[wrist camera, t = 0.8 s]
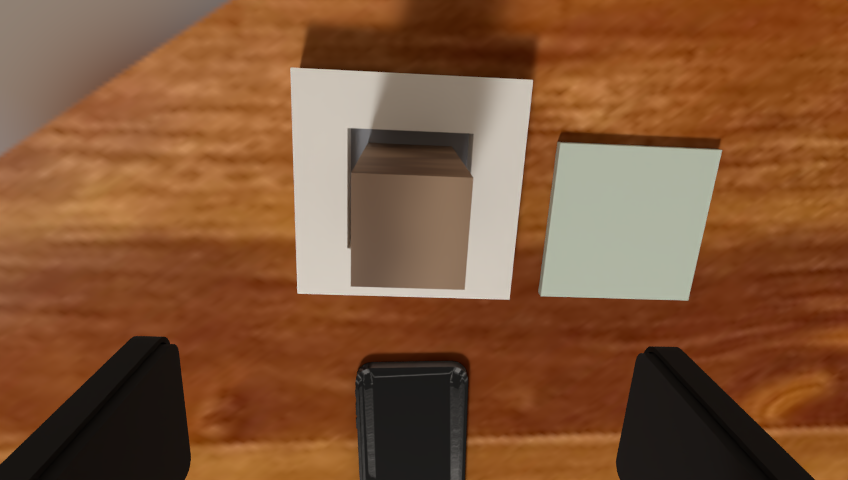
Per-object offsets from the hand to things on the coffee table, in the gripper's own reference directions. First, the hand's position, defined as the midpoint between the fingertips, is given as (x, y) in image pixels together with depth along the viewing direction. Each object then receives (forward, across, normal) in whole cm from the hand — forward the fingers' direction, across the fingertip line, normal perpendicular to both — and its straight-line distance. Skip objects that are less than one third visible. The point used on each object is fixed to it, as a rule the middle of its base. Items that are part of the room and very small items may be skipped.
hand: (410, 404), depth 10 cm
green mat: (+22, -14, +2) cm, 26 cm away
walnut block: (+22, 0, 0) cm, 22 cm away
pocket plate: (+22, 0, 0) cm, 22 cm away
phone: (+23, -1, +20) cm, 30 cm away
